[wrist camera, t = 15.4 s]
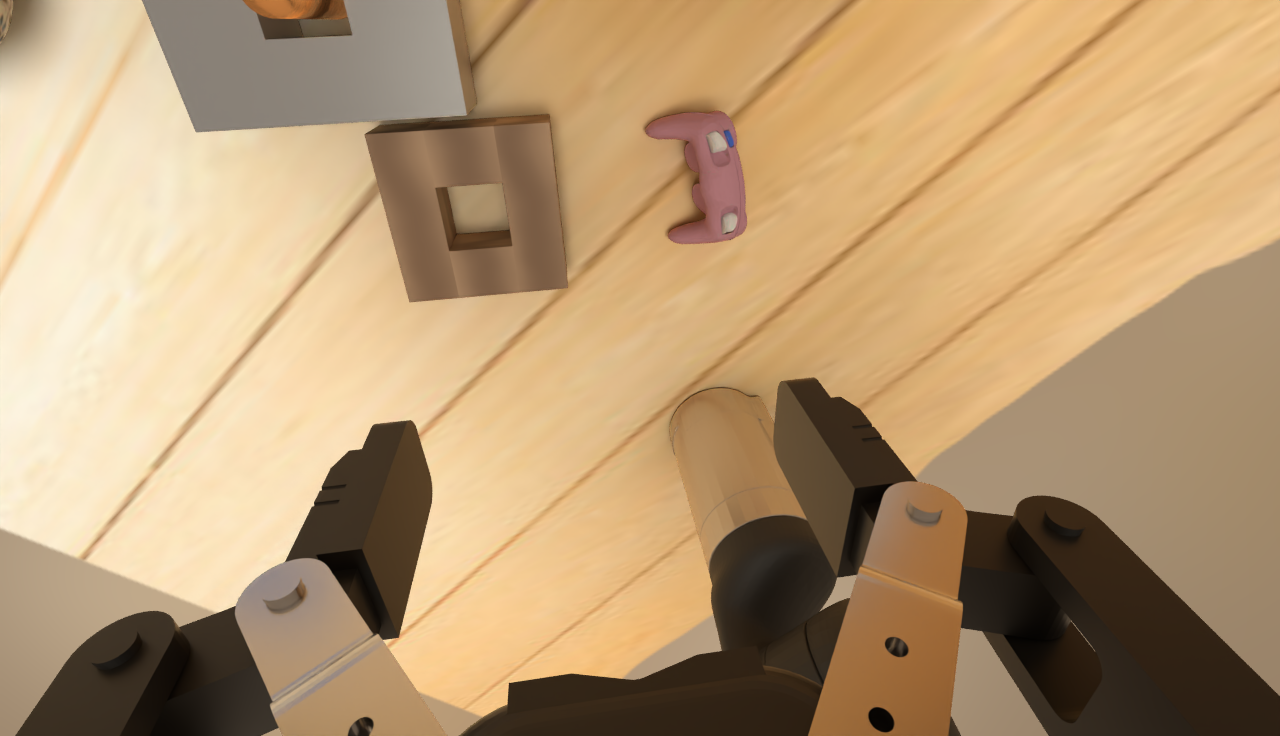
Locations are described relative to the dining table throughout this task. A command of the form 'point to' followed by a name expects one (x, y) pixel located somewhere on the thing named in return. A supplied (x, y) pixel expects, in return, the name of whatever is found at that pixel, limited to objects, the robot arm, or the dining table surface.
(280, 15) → the pin
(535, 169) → the pin mount
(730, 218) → the video game controller
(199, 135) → the dining table surface
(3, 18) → the teacup
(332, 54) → the dock socket
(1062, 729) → the robot arm
